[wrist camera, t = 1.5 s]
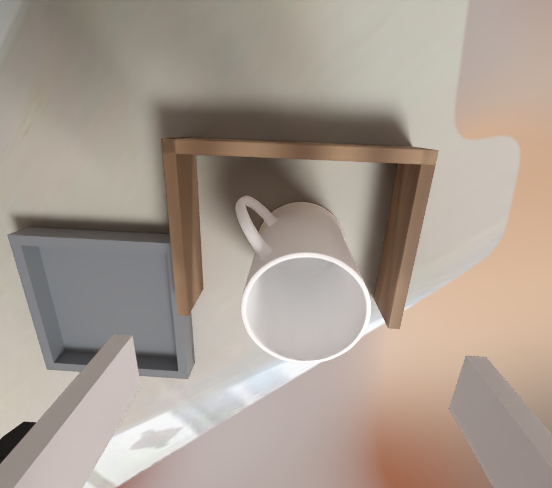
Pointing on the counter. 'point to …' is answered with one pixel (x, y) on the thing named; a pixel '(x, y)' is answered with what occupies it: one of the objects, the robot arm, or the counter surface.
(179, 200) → the bay
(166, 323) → the tray
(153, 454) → the counter surface
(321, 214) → the mug
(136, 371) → the robot arm
